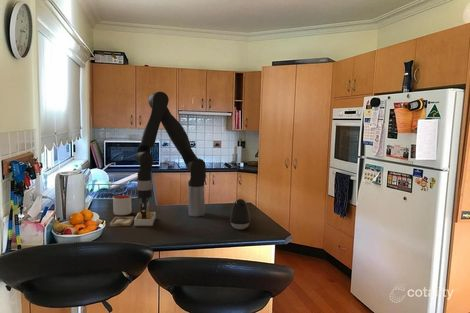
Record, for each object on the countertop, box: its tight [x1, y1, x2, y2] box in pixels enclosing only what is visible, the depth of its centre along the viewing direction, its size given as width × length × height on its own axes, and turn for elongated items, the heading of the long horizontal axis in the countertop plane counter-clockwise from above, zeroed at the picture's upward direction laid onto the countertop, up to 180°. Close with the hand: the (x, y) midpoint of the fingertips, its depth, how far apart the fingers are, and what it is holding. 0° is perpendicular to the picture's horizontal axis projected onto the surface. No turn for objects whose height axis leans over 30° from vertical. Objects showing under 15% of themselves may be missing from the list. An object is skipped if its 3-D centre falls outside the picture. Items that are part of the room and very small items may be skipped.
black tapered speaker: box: [229, 198, 251, 231], centre depth 168 cm, size 10×10×15 cm
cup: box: [112, 194, 133, 217], centre depth 193 cm, size 10×10×10 cm
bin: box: [133, 211, 156, 227], centre depth 178 cm, size 9×14×4 cm
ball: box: [139, 210, 151, 219], centre depth 177 cm, size 6×6×6 cm
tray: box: [109, 216, 135, 227], centre depth 176 cm, size 10×12×2 cm
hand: (145, 219), depth 178 cm, fingers closed on ball, 6 cm apart
